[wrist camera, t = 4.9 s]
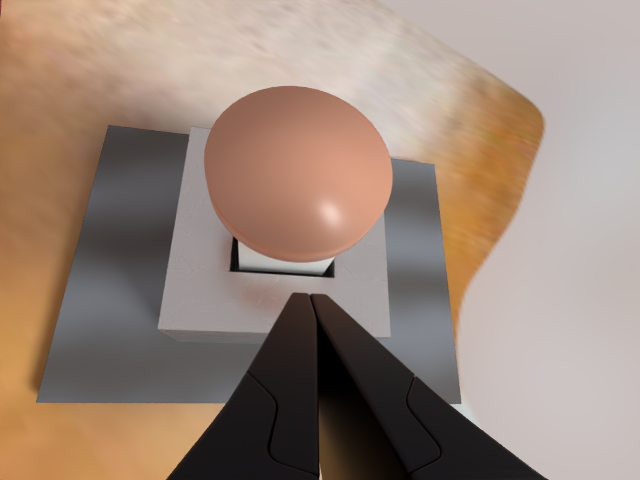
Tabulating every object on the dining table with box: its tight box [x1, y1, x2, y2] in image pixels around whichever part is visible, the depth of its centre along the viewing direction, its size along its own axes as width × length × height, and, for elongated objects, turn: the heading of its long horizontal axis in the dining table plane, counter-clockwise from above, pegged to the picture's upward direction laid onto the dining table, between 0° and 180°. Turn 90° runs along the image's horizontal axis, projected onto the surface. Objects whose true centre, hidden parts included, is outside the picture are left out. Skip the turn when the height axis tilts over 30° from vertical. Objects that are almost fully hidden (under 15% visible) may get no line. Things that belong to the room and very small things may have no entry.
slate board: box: [36, 125, 461, 404], centre depth 23 cm, size 16×22×1 cm
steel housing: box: [158, 127, 391, 344], centre depth 20 cm, size 10×10×5 cm
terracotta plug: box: [204, 86, 393, 275], centre depth 16 cm, size 6×6×7 cm
